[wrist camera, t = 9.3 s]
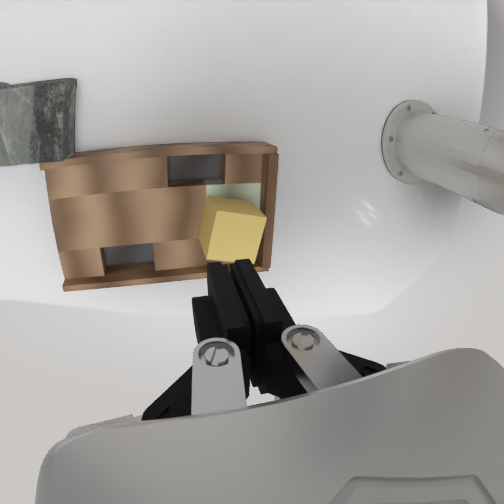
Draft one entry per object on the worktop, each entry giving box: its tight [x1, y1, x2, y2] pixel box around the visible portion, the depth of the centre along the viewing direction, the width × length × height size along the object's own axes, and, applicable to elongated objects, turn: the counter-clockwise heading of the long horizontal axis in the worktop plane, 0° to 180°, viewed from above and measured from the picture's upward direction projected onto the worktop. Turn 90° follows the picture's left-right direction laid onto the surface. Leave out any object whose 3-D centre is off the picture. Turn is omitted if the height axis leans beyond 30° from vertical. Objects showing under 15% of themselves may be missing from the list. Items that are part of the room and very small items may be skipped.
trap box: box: [39, 142, 279, 292], centre depth 33 cm, size 24×14×4 cm, turn 87°
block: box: [199, 195, 267, 264], centre depth 33 cm, size 5×5×5 cm
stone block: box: [0, 78, 77, 167], centre depth 23 cm, size 9×14×5 cm, turn 82°
